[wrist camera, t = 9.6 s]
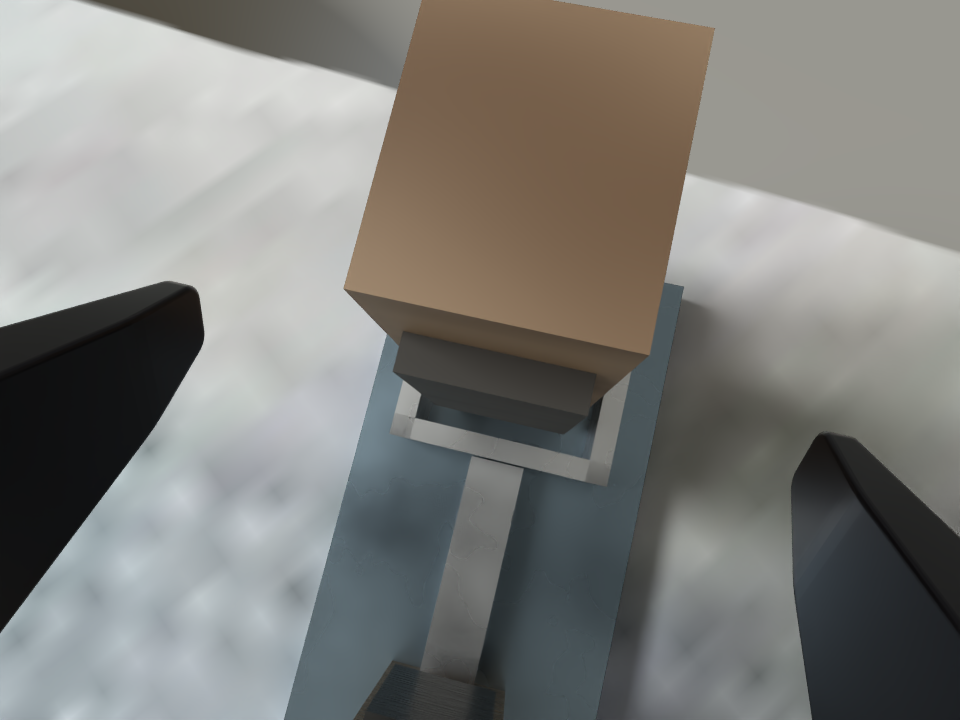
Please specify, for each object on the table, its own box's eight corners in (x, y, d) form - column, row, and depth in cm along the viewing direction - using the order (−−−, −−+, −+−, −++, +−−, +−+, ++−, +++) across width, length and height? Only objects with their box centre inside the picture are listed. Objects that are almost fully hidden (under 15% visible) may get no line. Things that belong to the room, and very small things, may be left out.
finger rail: (561, 851, 20) (584, 1057, 13) (280, 768, 21) (159, 919, 14) (675, 296, 23) (745, 218, 16) (420, 241, 24) (378, 143, 17)
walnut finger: (559, 448, 21) (638, 409, 7) (451, 423, 21) (329, 339, 8) (590, 308, 22) (714, 28, 8) (484, 286, 22) (427, -21, 8)
